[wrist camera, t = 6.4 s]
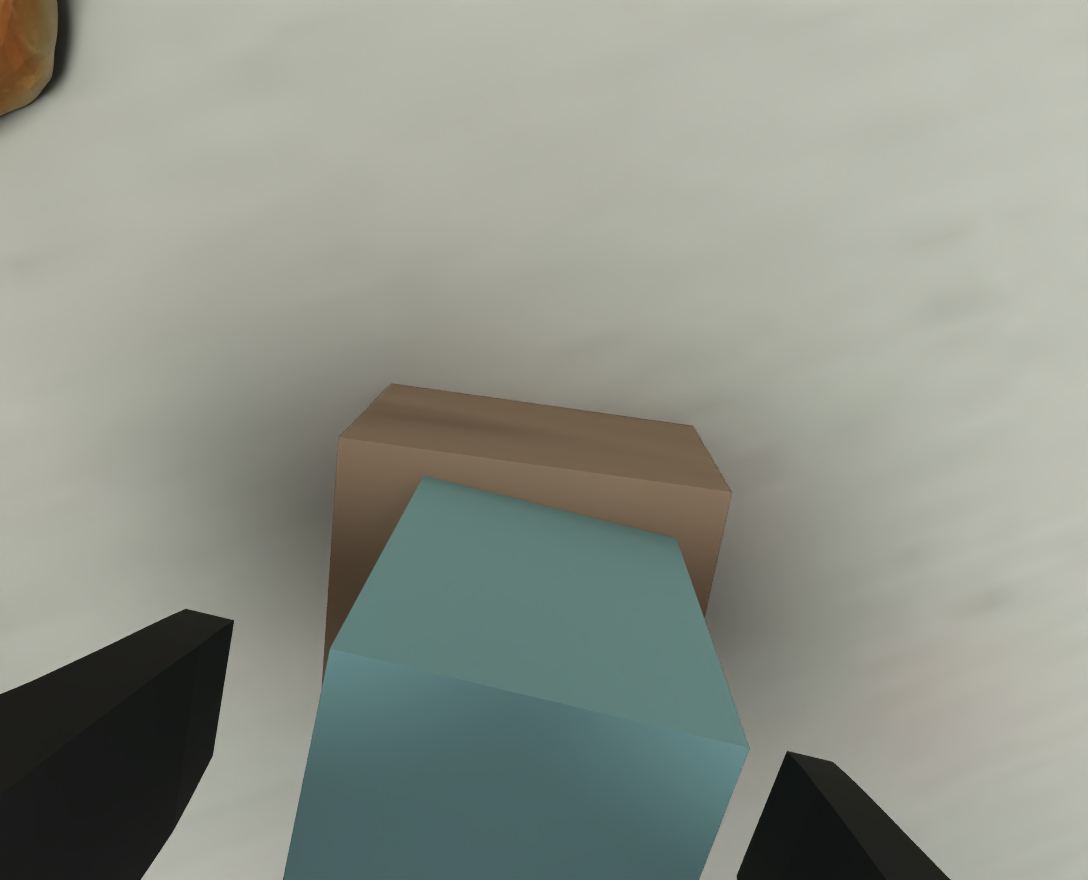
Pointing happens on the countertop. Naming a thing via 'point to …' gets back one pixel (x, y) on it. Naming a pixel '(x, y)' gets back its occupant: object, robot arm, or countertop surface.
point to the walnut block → (518, 476)
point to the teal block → (518, 706)
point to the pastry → (26, 50)
